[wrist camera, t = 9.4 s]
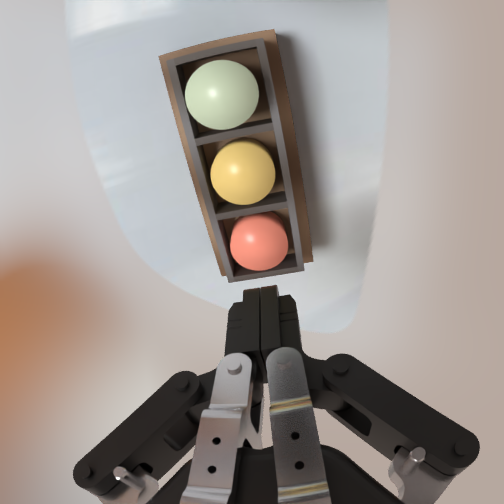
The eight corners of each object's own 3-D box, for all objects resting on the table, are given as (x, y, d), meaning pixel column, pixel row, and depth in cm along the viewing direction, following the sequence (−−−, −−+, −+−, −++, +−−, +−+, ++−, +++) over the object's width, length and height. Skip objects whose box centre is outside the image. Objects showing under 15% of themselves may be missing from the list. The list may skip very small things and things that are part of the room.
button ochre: (207, 144, 17) (203, 152, 16) (267, 132, 17) (268, 138, 16) (221, 198, 19) (219, 209, 18) (278, 188, 19) (280, 198, 17)
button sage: (184, 69, 14) (177, 70, 13) (250, 54, 14) (250, 53, 12) (199, 130, 16) (194, 136, 15) (264, 116, 16) (265, 121, 14)
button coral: (226, 214, 20) (223, 227, 18) (281, 204, 19) (283, 216, 18) (238, 260, 22) (237, 274, 20) (289, 251, 21) (291, 265, 20)
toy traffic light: (167, 56, 16) (149, 55, 13) (272, 32, 16) (276, 25, 13) (224, 260, 24) (219, 290, 21) (309, 246, 24) (316, 275, 21)
